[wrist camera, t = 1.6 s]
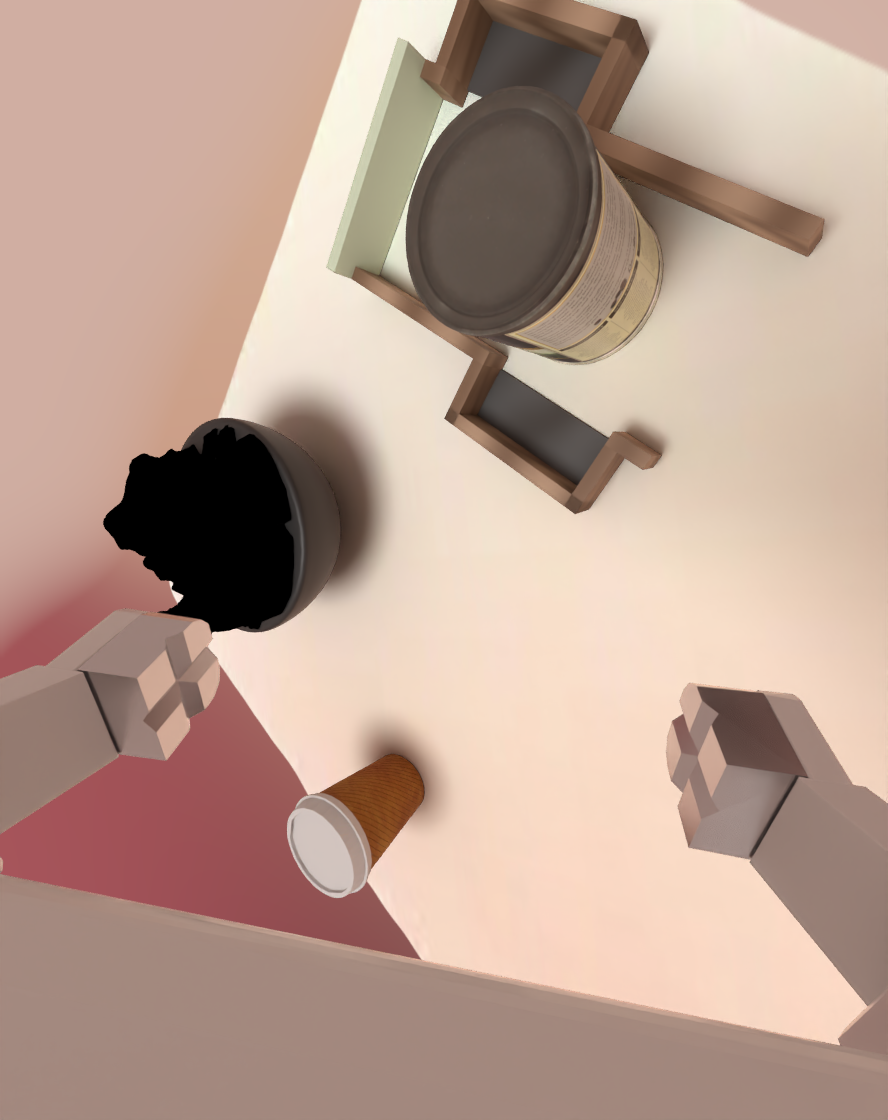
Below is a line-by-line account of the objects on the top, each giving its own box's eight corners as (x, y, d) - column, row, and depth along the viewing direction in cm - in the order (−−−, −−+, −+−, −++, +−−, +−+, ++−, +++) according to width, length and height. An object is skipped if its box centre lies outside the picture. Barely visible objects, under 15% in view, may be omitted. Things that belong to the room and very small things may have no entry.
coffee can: (521, 376, 40) (410, 350, 28) (517, 228, 38) (397, 137, 26) (663, 354, 34) (596, 312, 23) (667, 180, 32) (597, 37, 21)
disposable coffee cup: (396, 724, 55) (310, 786, 45) (453, 800, 52) (375, 883, 43) (355, 763, 60) (270, 826, 50) (405, 834, 57) (326, 915, 48)
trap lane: (898, 133, 26) (909, 102, 24) (610, 525, 38) (598, 530, 36) (479, -3, 36) (457, -35, 34) (355, 341, 48) (331, 336, 46)
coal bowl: (263, 399, 57) (67, 384, 41) (402, 454, 47) (216, 461, 32) (247, 562, 64) (75, 600, 49) (364, 636, 55) (198, 712, 40)
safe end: (448, 83, 38) (408, 41, 34) (375, 287, 46) (334, 272, 42) (439, 79, 39) (397, 37, 35) (367, 282, 46) (326, 267, 42)
